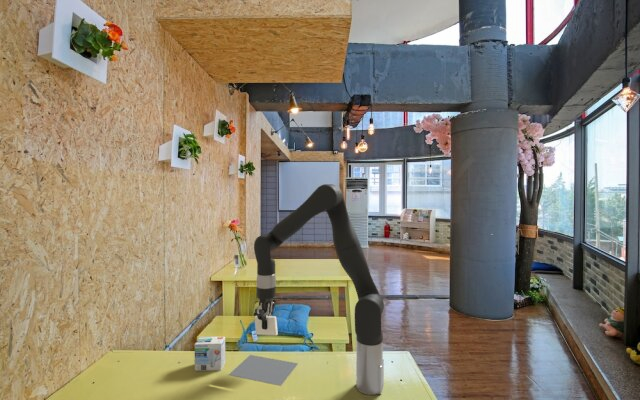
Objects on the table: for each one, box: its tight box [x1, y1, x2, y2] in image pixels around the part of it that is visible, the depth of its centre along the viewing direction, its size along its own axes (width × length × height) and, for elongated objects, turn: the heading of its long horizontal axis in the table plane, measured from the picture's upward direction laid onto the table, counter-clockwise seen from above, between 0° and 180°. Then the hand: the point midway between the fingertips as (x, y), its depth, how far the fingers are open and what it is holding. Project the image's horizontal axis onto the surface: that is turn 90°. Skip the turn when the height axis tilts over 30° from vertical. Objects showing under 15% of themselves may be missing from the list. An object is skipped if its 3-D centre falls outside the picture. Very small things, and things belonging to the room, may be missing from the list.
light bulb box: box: [194, 336, 226, 372], centre depth 134 cm, size 11×7×11 cm, turn 93°
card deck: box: [254, 315, 279, 336], centre depth 133 cm, size 9×2×7 cm, turn 70°
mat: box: [228, 354, 299, 387], centre depth 131 cm, size 22×16×1 cm
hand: (265, 327), depth 133 cm, fingers closed on card deck
